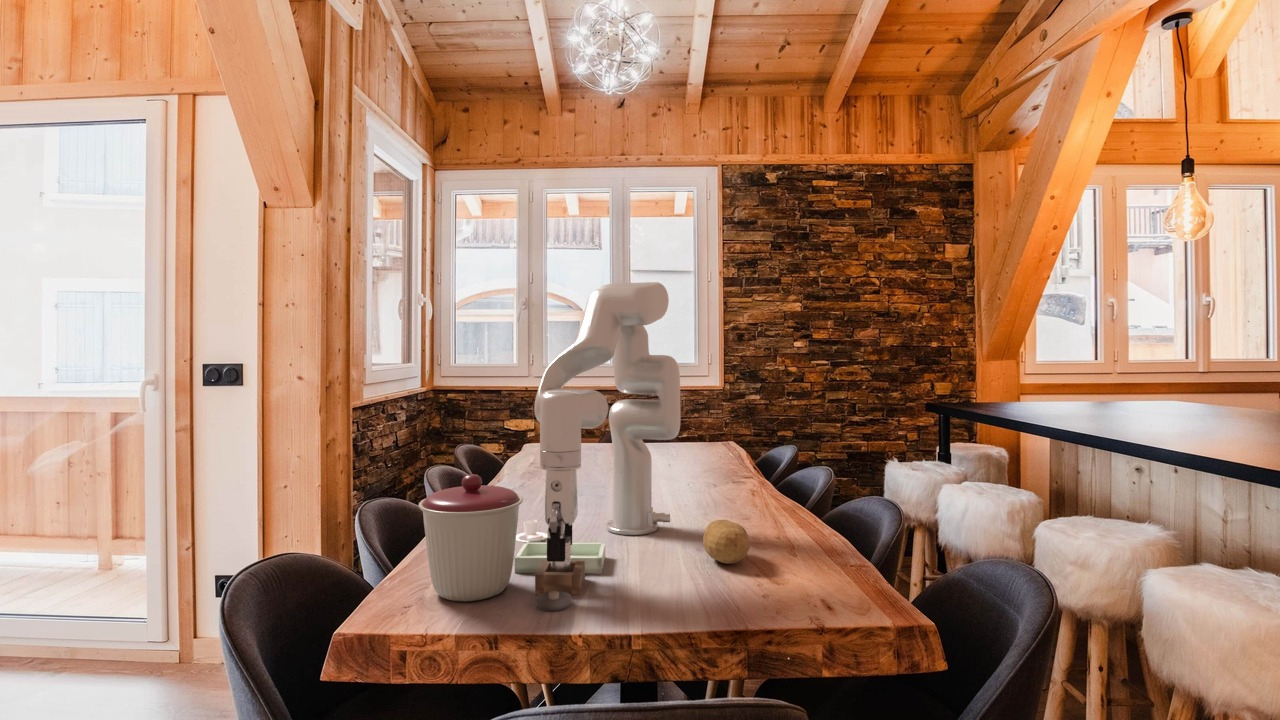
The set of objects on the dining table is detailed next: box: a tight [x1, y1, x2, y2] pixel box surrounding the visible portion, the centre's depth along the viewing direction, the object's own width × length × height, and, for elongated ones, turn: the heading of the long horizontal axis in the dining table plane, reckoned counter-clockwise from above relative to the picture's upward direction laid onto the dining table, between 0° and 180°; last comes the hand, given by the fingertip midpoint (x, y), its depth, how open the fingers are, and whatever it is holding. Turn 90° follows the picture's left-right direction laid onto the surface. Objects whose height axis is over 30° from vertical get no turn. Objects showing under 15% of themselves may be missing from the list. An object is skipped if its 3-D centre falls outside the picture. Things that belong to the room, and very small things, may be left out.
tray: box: [514, 542, 606, 574], centre depth 129 cm, size 17×10×3 cm, turn 89°
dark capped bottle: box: [551, 535, 571, 572], centre depth 117 cm, size 4×4×9 cm
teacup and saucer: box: [516, 519, 548, 543], centre depth 148 cm, size 9×8×4 cm
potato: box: [702, 519, 751, 565], centre depth 131 cm, size 10×14×8 cm
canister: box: [418, 473, 524, 602], centre depth 114 cm, size 18×18×21 cm
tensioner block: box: [534, 560, 586, 613], centre depth 113 cm, size 8×16×4 cm, turn 179°
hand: (560, 552), depth 117 cm, fingers open, 9 cm apart
